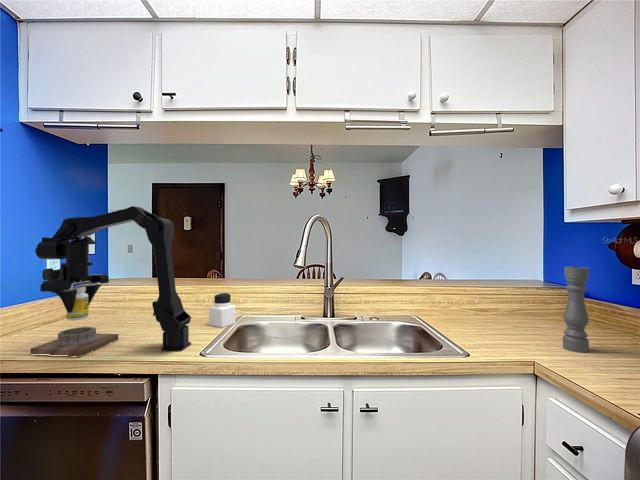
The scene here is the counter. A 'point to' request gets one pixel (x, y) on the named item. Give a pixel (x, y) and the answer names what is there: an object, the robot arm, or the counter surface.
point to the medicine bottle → (222, 311)
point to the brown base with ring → (75, 342)
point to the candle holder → (576, 310)
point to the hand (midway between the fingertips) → (77, 310)
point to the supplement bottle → (79, 305)
